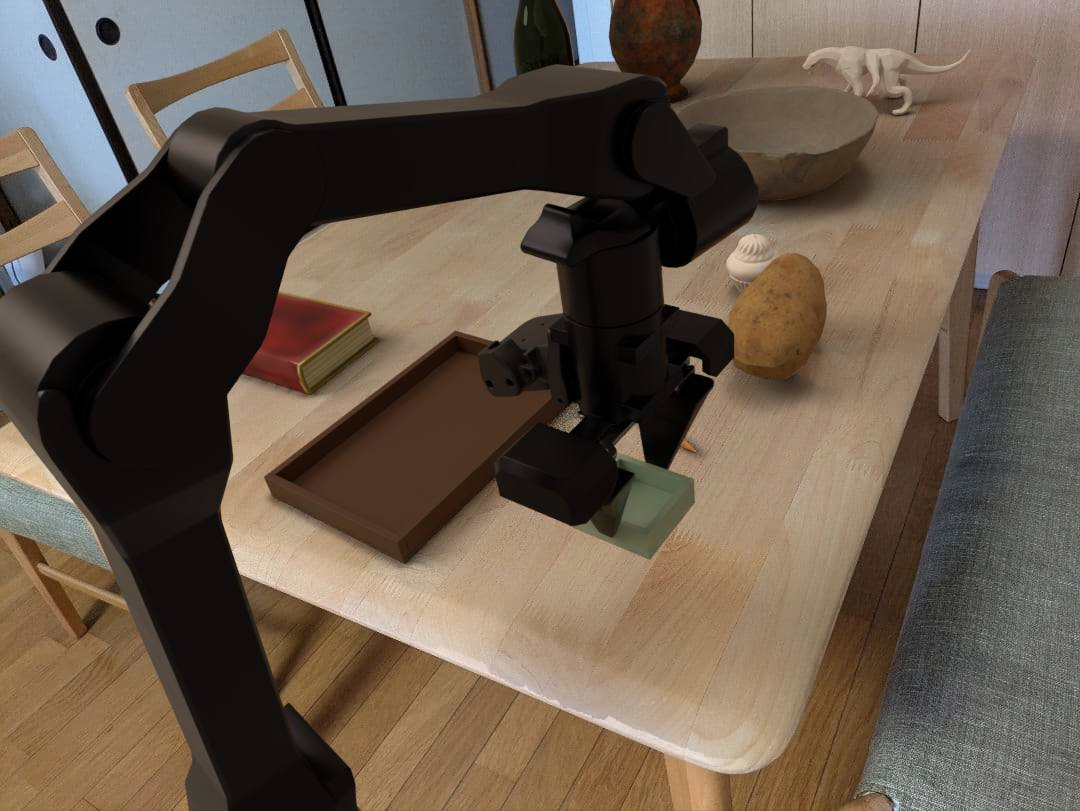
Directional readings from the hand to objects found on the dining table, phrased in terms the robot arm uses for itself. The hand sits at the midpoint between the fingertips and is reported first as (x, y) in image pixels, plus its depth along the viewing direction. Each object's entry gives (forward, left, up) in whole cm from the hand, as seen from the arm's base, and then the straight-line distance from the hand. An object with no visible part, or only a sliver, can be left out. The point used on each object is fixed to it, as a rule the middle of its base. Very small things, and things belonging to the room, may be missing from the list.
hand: (633, 504), depth 56 cm
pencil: (+20, +13, -11) cm, 26 cm away
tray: (+8, +28, -11) cm, 31 cm away
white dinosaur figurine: (+109, +19, -11) cm, 111 cm away
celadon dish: (0, 0, -1) cm, 1 cm away
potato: (+34, +4, -11) cm, 36 cm away
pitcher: (+107, +57, -11) cm, 122 cm away
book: (+12, +58, -11) cm, 60 cm away
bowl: (+76, +24, -11) cm, 80 cm away
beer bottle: (+85, +69, -11) cm, 110 cm away
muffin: (+46, +12, -11) cm, 49 cm away
